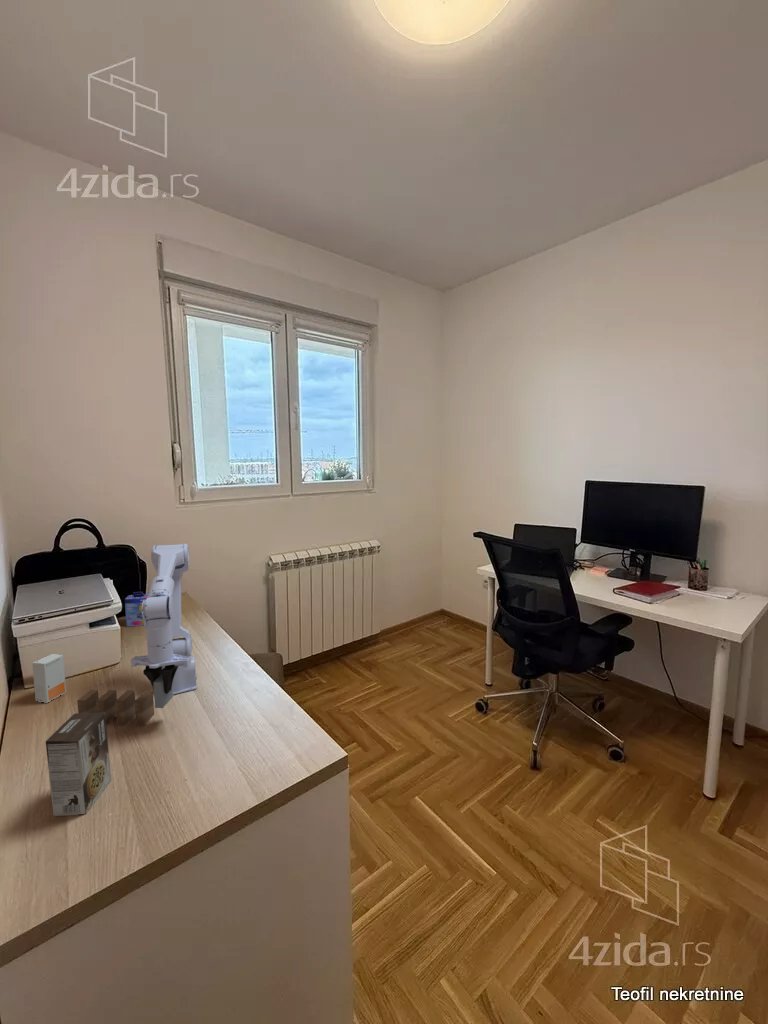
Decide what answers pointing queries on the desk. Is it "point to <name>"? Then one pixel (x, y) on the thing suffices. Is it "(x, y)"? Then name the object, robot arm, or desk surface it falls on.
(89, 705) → the domino
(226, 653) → the desk surface
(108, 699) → the domino
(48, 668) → the skincare box
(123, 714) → the domino
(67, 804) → the coffee box
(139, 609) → the ink cartridge box
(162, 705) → the domino
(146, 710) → the domino
